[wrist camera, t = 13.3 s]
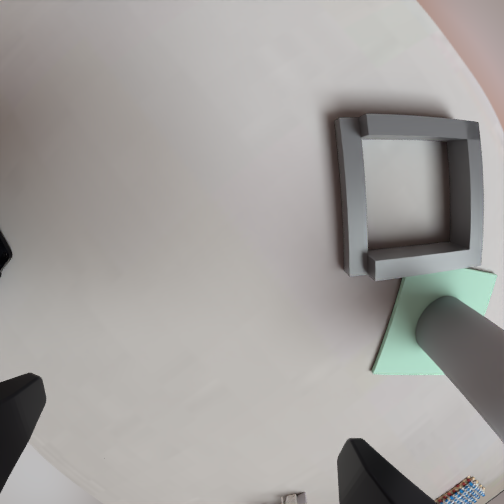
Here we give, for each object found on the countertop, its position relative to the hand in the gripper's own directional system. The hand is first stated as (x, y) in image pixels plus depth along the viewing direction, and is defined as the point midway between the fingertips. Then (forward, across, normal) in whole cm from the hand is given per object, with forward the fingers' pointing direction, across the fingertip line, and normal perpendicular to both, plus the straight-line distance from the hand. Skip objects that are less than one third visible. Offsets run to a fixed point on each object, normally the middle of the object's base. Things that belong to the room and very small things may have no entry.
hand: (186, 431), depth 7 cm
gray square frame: (+13, -11, -8) cm, 18 cm away
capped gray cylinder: (+13, -16, +1) cm, 21 cm away
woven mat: (+14, -37, +30) cm, 49 cm away
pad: (+13, -16, +1) cm, 21 cm away
